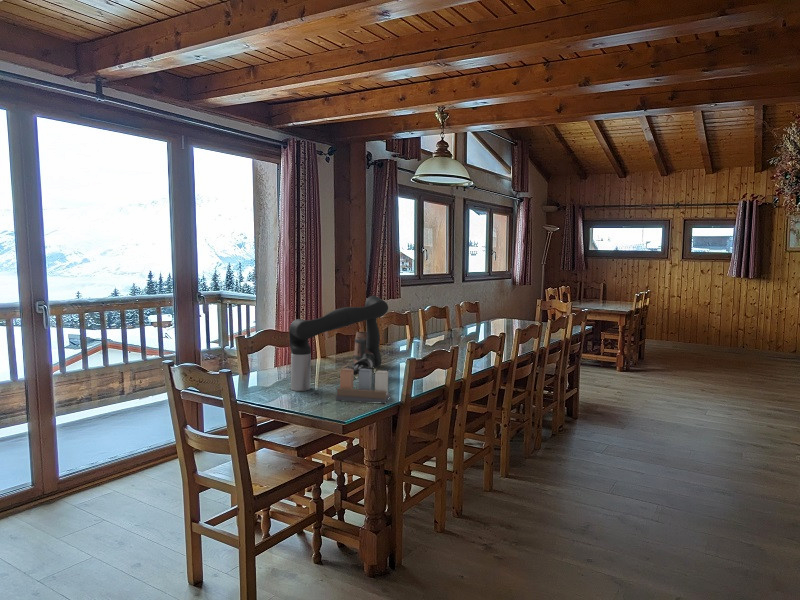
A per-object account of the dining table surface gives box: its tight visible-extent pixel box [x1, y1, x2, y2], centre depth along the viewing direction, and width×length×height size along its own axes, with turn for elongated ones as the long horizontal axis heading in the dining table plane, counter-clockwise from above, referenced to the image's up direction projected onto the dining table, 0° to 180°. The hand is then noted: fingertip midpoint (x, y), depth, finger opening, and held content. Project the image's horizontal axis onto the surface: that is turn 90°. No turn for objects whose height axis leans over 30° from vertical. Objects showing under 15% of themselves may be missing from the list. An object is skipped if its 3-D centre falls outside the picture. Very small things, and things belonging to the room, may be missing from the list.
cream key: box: [374, 370, 389, 396], centre depth 242 cm, size 4×5×11 cm
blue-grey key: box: [358, 369, 373, 390], centre depth 245 cm, size 4×5×11 cm
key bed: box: [335, 387, 391, 404], centre depth 244 cm, size 12×22×5 cm, turn 79°
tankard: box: [350, 331, 373, 366], centre depth 314 cm, size 24×17×20 cm
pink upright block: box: [339, 367, 355, 389], centre depth 245 cm, size 4×5×11 cm
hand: (354, 372), depth 258 cm, fingers closed
